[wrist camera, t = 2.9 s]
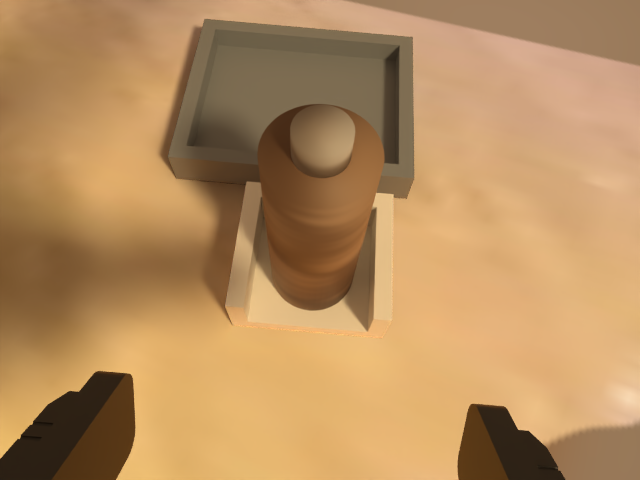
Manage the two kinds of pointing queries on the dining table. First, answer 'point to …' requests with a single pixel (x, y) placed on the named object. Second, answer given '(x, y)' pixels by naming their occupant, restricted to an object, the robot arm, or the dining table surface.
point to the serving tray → (290, 95)
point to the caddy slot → (275, 313)
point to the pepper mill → (317, 199)
